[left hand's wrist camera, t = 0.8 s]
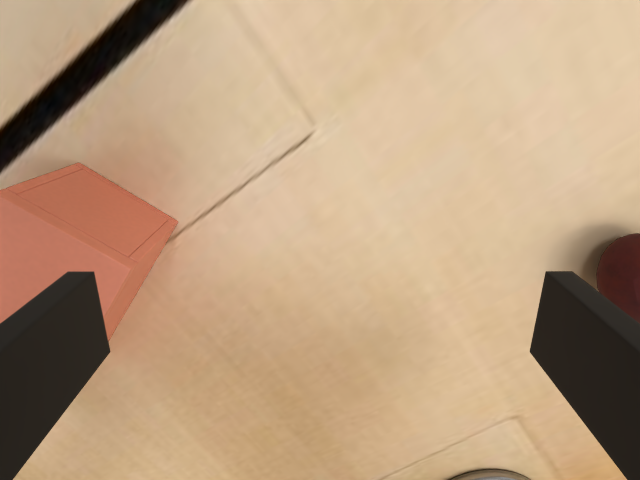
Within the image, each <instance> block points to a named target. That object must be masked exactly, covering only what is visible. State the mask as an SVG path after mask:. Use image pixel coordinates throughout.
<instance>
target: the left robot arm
mask: <svg viewBox="0 0 640 480" xmlns="http://www.w3.org/2000/svg"><path fill="white" fill-rule="evenodd" d="M109 353H110V348H109V343H108V338H107V333H106V328H105V323H104V318H103V313H102V308H101V303H100V298H99V293H98V288H97V283H96V278H95V273H94V271H68V272H66V273H65V274H64V275H63V276H61V277H60V278H59V279H57V280H56V281H55V282H54V283H52V284H51V285H50V286H48V287H47V288H46V289H44V290H43V291H42V292H41V293H39V294H38V295H37V296H35V297H34V298H33V299H31V300H30V301H29V302H28V303H26V304H25V305H24V306H22V307H21V308H20V309H18V310H17V311H16V312H15V313H13V314H12V315H11V316H9V317H8V318H7V319H6V320H4V321H3V322H2V323H0V480H13V478H14V477H15V476H16V475H17V473H18V472H19V471H20V469H21V468H22V467H23V465H24V464H25V463H26V461H27V460H28V459H29V458H30V456H31V455H32V454H33V452H34V451H35V450H36V448H37V447H38V446H39V444H40V443H41V442H42V440H43V439H44V438H45V437H46V435H47V434H48V433H49V431H50V430H51V429H52V427H53V426H54V425H55V423H56V422H57V421H58V420H59V418H60V417H61V416H62V414H63V413H64V412H65V410H66V409H67V408H68V406H69V405H70V404H71V403H72V401H73V400H74V399H75V397H76V396H77V395H78V393H79V392H80V391H81V389H82V388H83V387H84V385H85V384H86V383H87V382H88V380H89V379H90V378H91V376H92V375H93V374H94V372H95V371H96V370H97V368H98V367H99V366H100V365H101V363H102V362H103V361H104V359H105V358H106V357H107V355H108V354H109ZM530 353H531V354H532V355H533V357H534V358H535V359H536V361H537V362H538V363H539V365H540V366H541V367H542V368H543V370H544V371H545V372H546V374H547V375H548V376H549V378H550V379H551V380H552V382H553V383H554V384H555V385H556V387H557V388H558V389H559V391H560V392H561V393H562V395H563V396H564V397H565V399H566V400H567V401H568V403H569V404H570V405H571V406H572V408H573V409H574V410H575V412H576V413H577V414H578V416H579V417H580V418H581V420H582V421H583V422H584V423H585V425H586V426H587V427H588V429H589V430H590V431H591V433H592V434H593V435H594V437H595V438H596V439H597V440H598V442H599V443H600V444H601V446H602V447H603V448H604V450H605V451H606V452H607V454H608V455H609V456H610V458H611V459H612V460H613V461H614V463H615V464H616V465H617V467H618V468H619V469H620V471H621V472H622V473H623V475H624V476H625V477H626V478H627V480H640V323H638V322H637V321H636V320H634V319H633V318H632V317H631V316H629V315H628V314H627V313H625V312H624V311H623V310H621V309H620V308H619V307H618V306H616V305H615V304H614V303H612V302H611V301H610V300H609V299H607V298H606V297H605V296H603V295H602V294H601V293H599V292H598V291H597V290H596V289H594V288H593V287H592V286H590V285H589V284H588V283H586V282H585V281H584V280H583V279H581V278H580V277H579V276H577V275H576V274H575V273H574V272H572V271H546V273H545V278H544V283H543V288H542V293H541V298H540V303H539V308H538V313H537V318H536V323H535V328H534V333H533V338H532V343H531V348H530Z"/></svg>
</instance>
